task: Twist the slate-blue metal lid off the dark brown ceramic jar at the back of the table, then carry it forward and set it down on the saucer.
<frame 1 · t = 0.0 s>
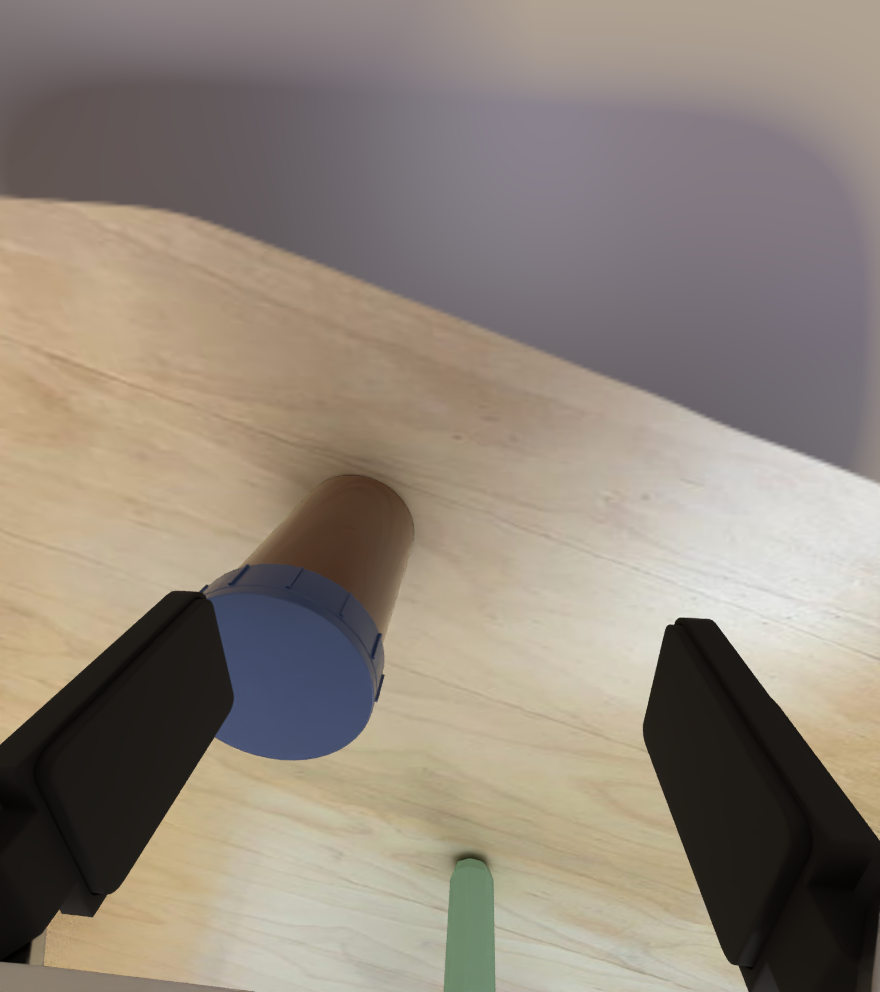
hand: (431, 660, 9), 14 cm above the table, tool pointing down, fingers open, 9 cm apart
lid: (272, 675, 14), point 10 cm above the table, screwed on, not yet turned
jar: (356, 529, 24), on the table
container: (472, 860, 34), on the table
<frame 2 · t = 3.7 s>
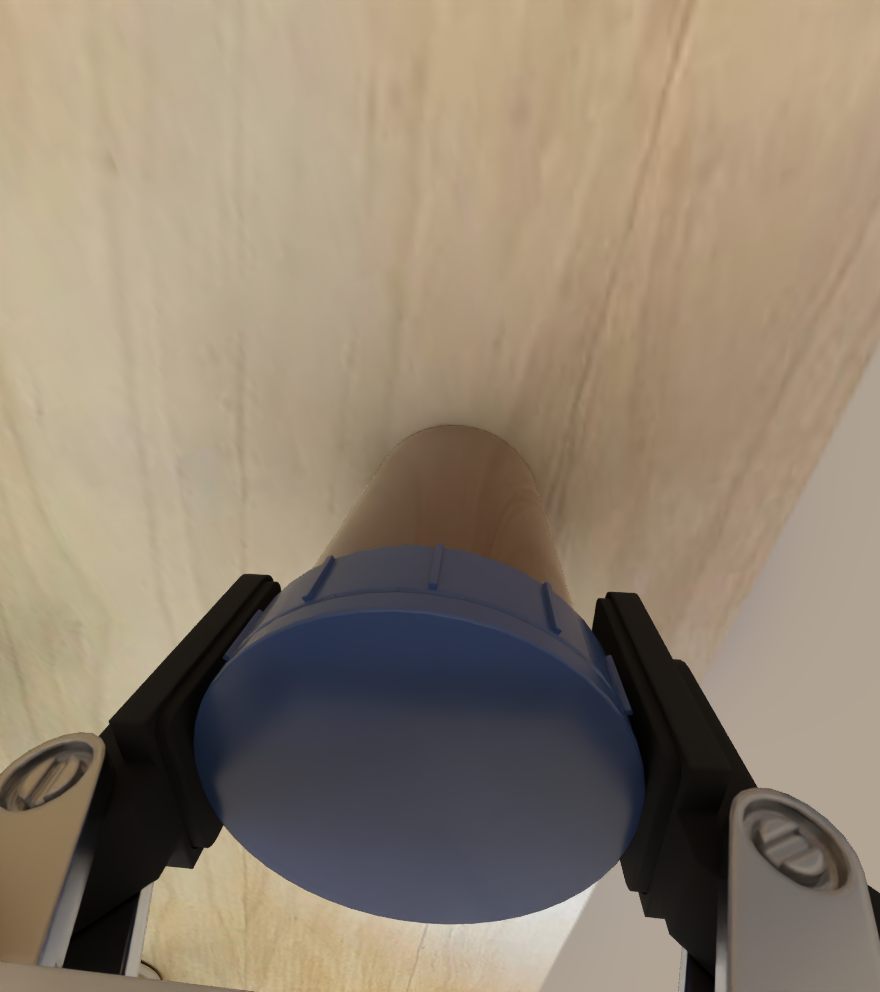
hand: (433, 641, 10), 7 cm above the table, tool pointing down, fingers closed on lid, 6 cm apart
lid: (414, 771, 7), point 10 cm above the table, screwed on, not yet turned, touching gripper
jar: (454, 506, 17), on the table
pill bottle: (131, 969, 34), on the table
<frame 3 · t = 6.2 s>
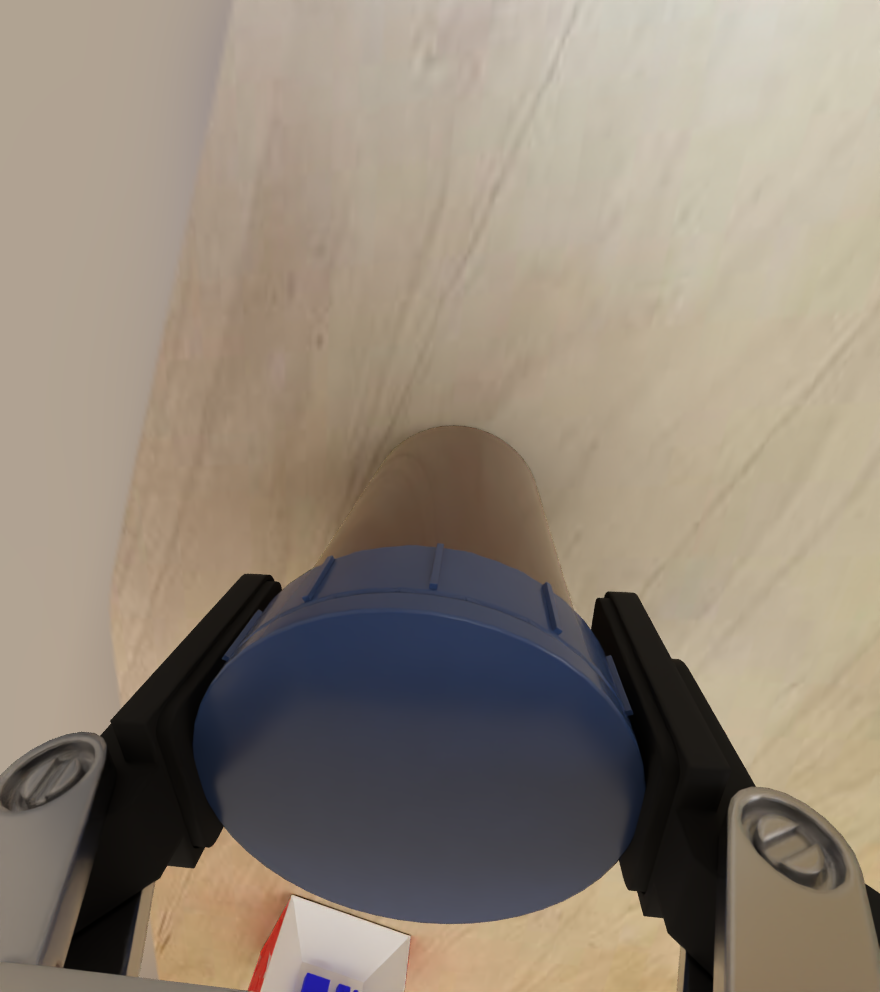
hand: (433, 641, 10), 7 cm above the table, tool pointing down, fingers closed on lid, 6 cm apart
lid: (414, 771, 7), point 10 cm above the table, off its thread, touching gripper
jar: (454, 506, 17), on the table
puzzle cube: (334, 940, 30), on the table
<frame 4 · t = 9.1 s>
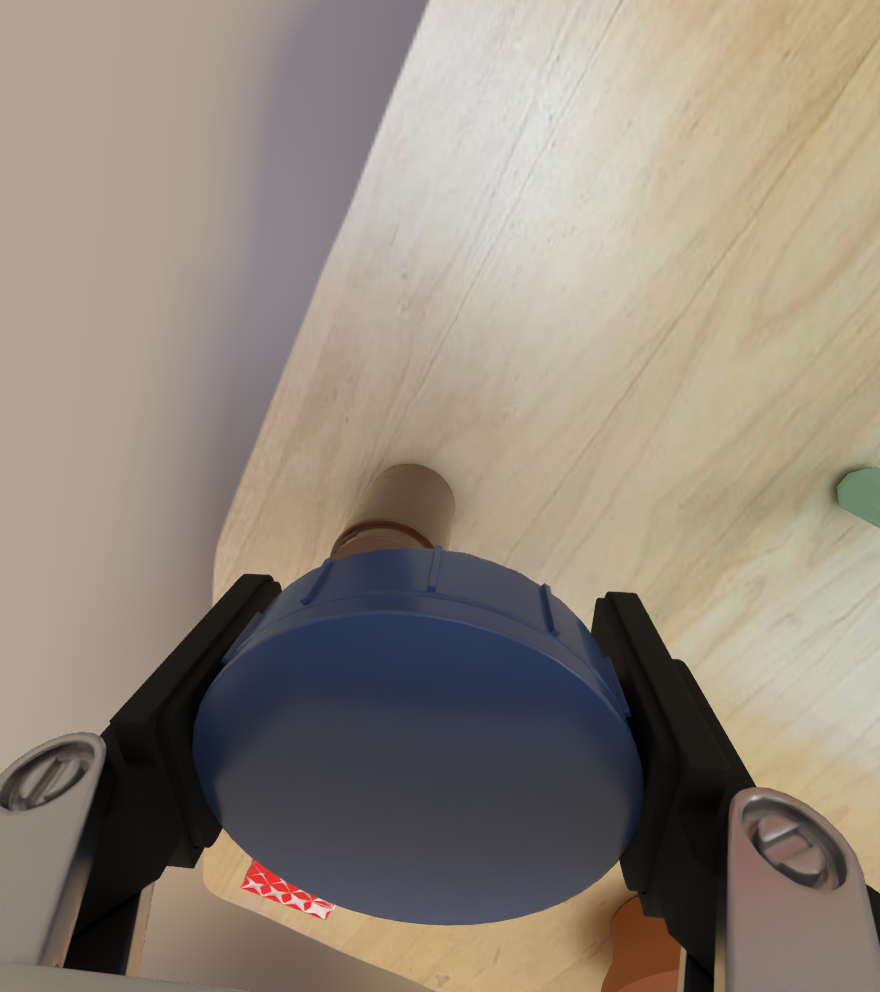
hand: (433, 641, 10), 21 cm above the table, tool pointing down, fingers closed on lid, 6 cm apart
lid: (413, 773, 7), point 24 cm above the table, off its thread, touching gripper
potted plant: (699, 912, 47), on the table
jar: (411, 504, 32), on the table
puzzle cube: (329, 786, 45), on the table
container: (852, 484, 29), on the table
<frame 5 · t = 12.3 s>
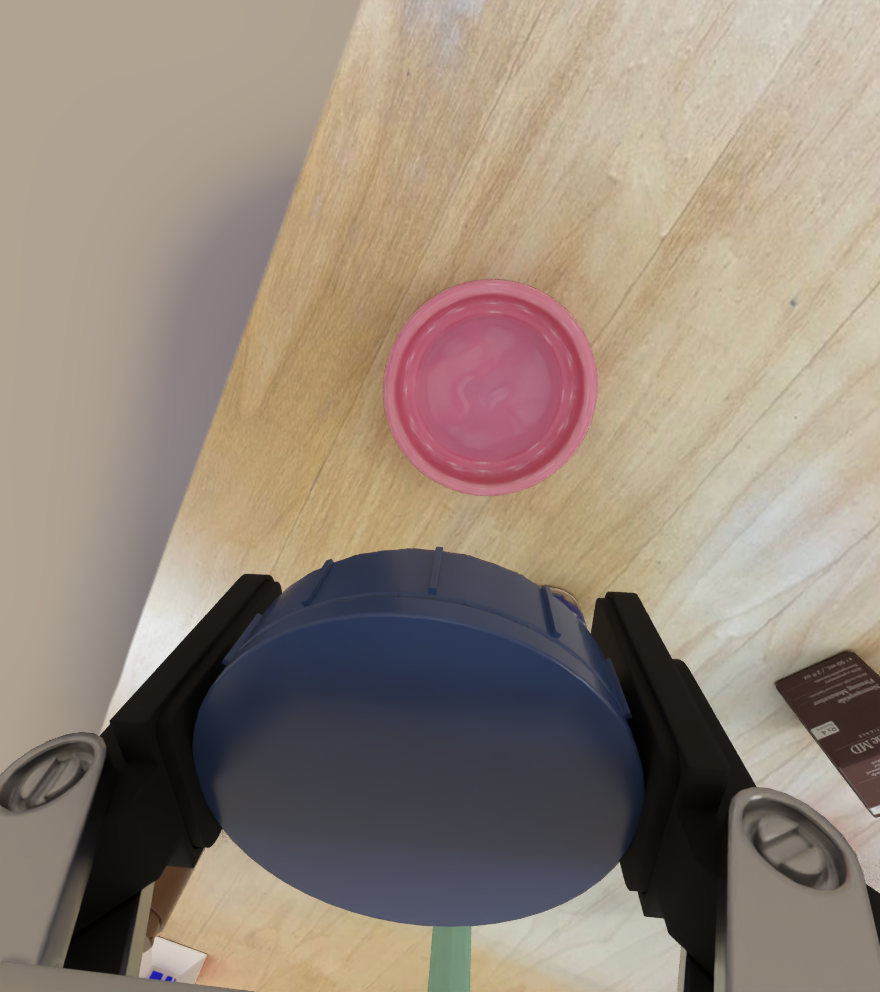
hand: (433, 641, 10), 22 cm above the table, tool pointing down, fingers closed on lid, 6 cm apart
lid: (414, 774, 7), point 25 cm above the table, off its thread, touching gripper
box: (825, 687, 36), on the table
jar: (190, 813, 49), on the table
saucer: (487, 388, 29), on the table
pill bottle: (545, 611, 35), on the table
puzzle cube: (173, 955, 61), on the table
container: (457, 822, 46), on the table
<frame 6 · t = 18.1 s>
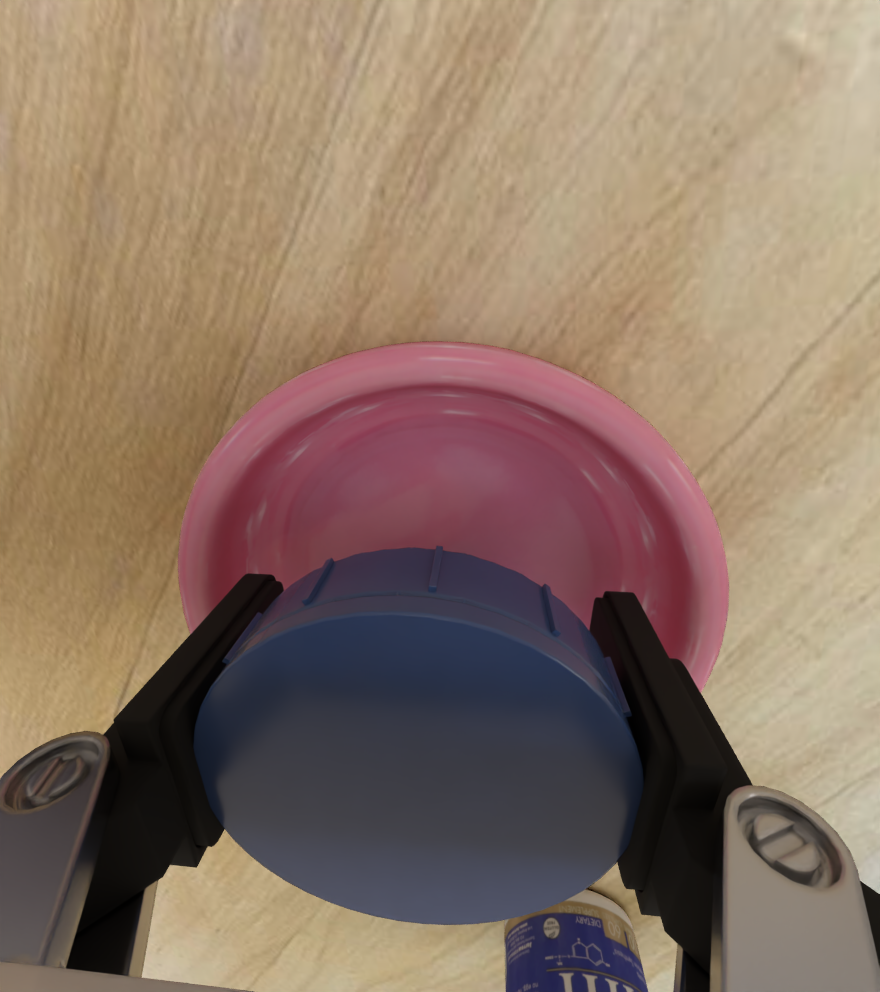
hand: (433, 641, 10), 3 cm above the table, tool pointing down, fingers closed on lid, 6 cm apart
lid: (414, 773, 7), point 6 cm above the table, off its thread, touching gripper
saucer: (449, 559, 13), on the table
pill bottle: (564, 913, 19), on the table
when the fingers open (3 cm above the table, at t = 20.7 s): lid drops 2 cm, resting on saucer.
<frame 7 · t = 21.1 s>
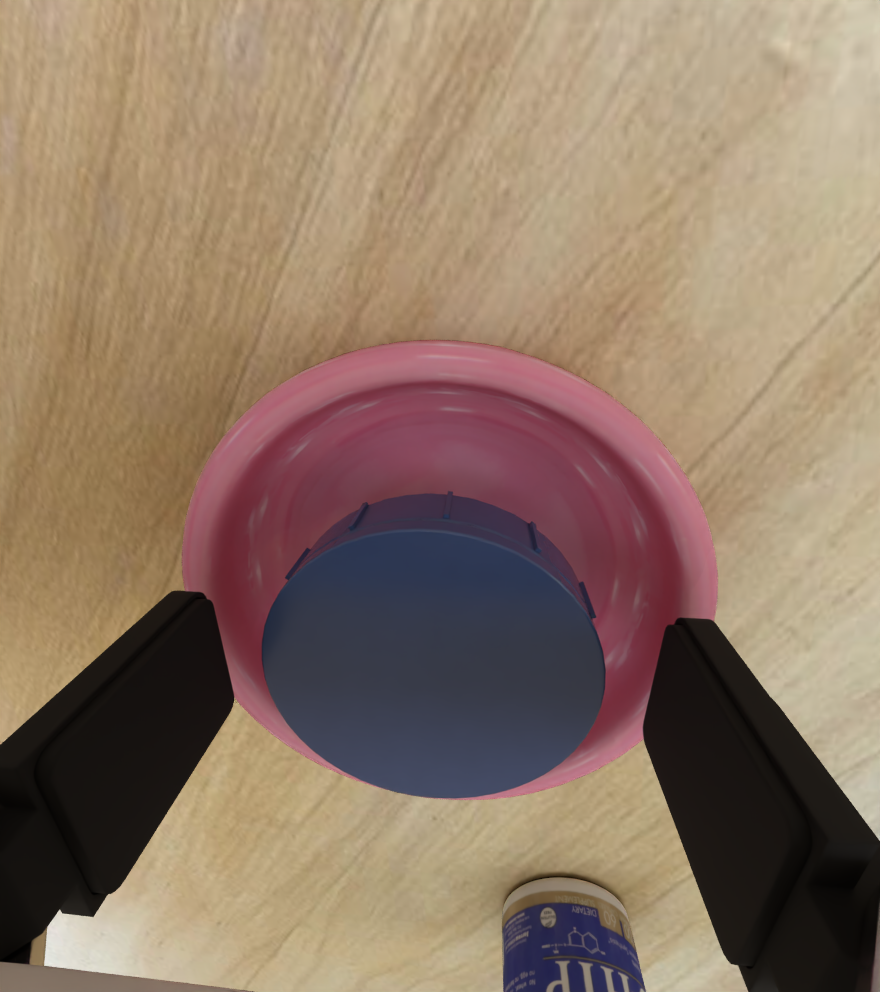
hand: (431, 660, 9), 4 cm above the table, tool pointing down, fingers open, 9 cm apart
lid: (430, 668, 9), point 4 cm above the table, off its thread, touching saucer
saucer: (446, 553, 14), on the table, touching lid
pill bottle: (561, 904, 20), on the table
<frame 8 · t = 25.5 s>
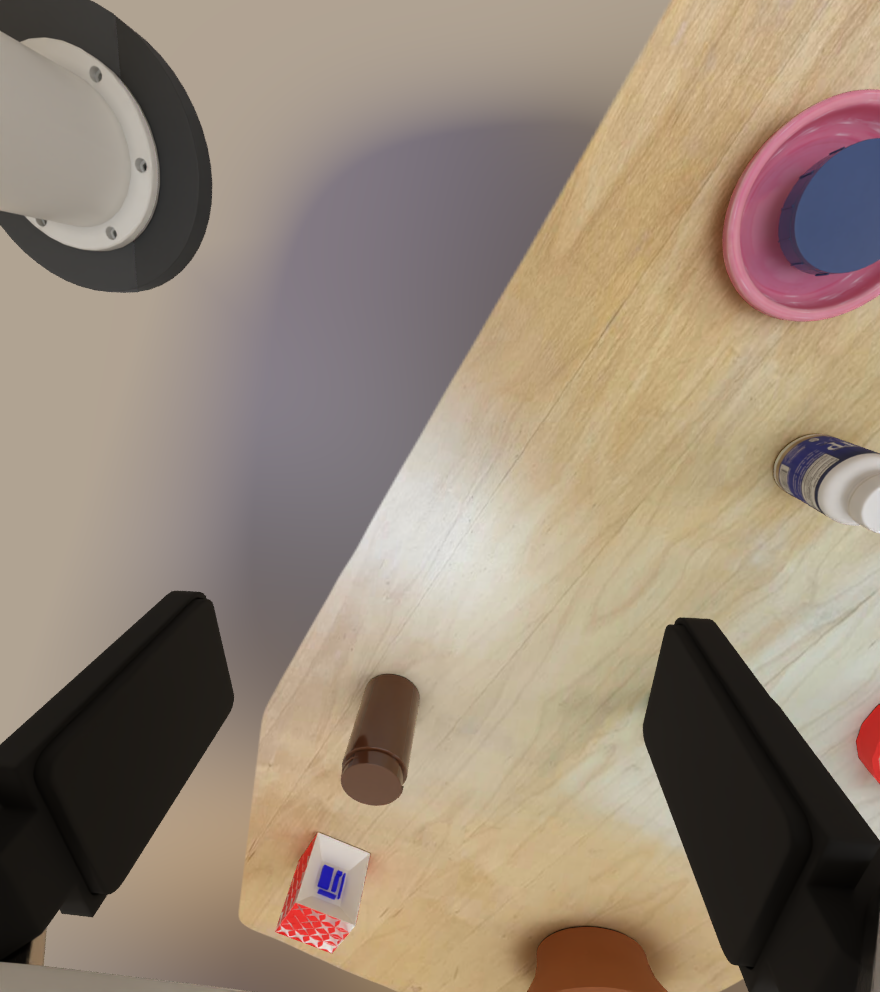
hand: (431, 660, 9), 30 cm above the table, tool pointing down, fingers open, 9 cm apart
lid: (853, 210, 27), point 4 cm above the table, off its thread, touching saucer
potted plant: (598, 944, 66), on the table
jar: (392, 695, 51), on the table
saucer: (802, 223, 31), on the table, touching lid
pill bottle: (804, 463, 37), on the table
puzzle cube: (334, 855, 63), on the table
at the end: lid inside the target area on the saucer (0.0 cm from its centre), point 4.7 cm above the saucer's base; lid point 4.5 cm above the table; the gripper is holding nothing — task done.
